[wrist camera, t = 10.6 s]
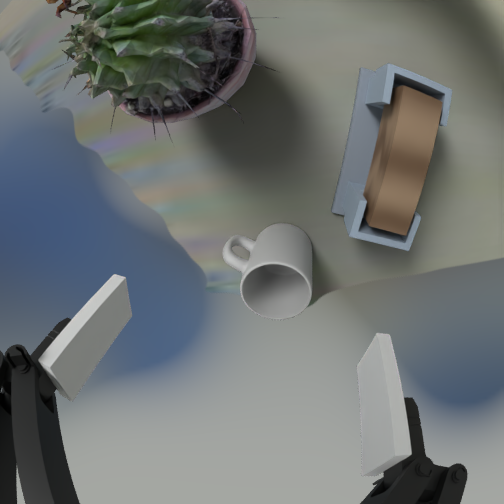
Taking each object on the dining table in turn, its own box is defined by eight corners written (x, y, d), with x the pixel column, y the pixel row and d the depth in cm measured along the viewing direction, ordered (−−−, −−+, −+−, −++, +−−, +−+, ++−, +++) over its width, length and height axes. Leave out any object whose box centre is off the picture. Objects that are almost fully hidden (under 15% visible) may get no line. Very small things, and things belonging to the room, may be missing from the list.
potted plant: (244, 158, 36) (149, 239, 14) (134, 95, 33) (-14, 115, 12) (319, 50, 27) (342, -54, 5) (194, -6, 24) (78, -81, 3)
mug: (322, 239, 39) (327, 282, 30) (294, 281, 43) (290, 330, 34) (247, 201, 39) (227, 233, 29) (225, 248, 43) (202, 290, 33)
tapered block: (386, 89, 24) (403, 85, 19) (420, 102, 24) (442, 102, 19) (359, 206, 32) (369, 226, 27) (391, 215, 31) (405, 235, 26)
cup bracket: (359, 68, 27) (377, 55, 19) (428, 93, 26) (461, 91, 18) (331, 209, 37) (337, 238, 29) (395, 225, 36) (415, 256, 28)
